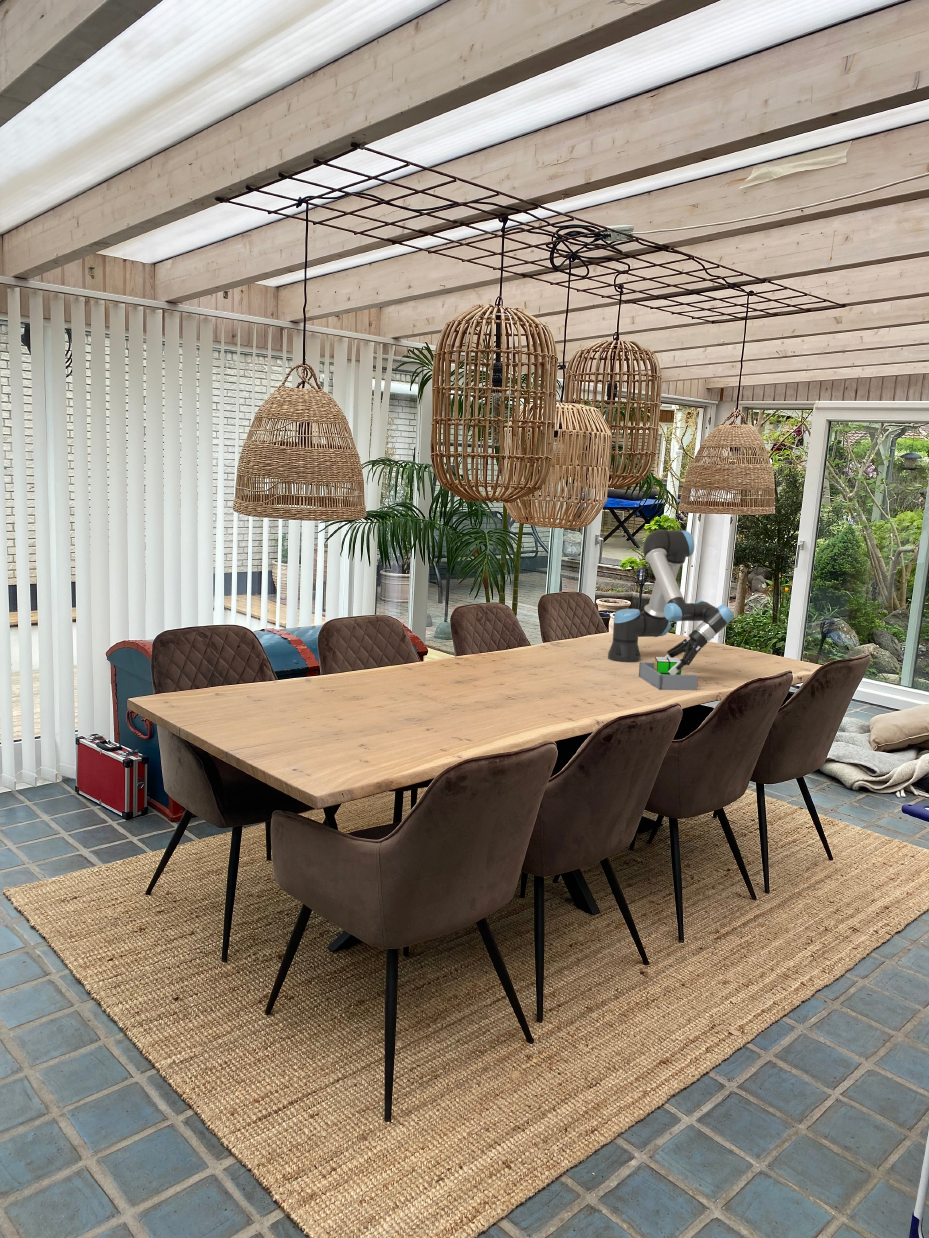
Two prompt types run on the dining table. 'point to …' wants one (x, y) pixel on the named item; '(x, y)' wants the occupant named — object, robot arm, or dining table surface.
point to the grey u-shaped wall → (667, 679)
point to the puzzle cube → (665, 665)
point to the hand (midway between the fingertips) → (664, 670)
